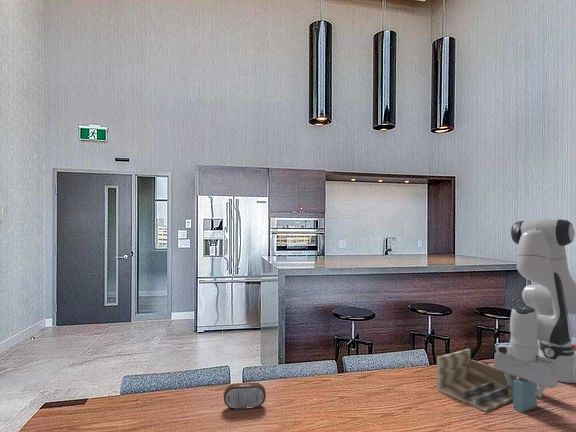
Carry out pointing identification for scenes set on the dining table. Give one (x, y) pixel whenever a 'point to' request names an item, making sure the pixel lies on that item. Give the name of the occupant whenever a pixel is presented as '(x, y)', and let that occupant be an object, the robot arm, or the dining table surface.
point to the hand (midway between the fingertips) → (524, 390)
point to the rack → (472, 381)
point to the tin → (244, 395)
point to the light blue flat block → (524, 395)
